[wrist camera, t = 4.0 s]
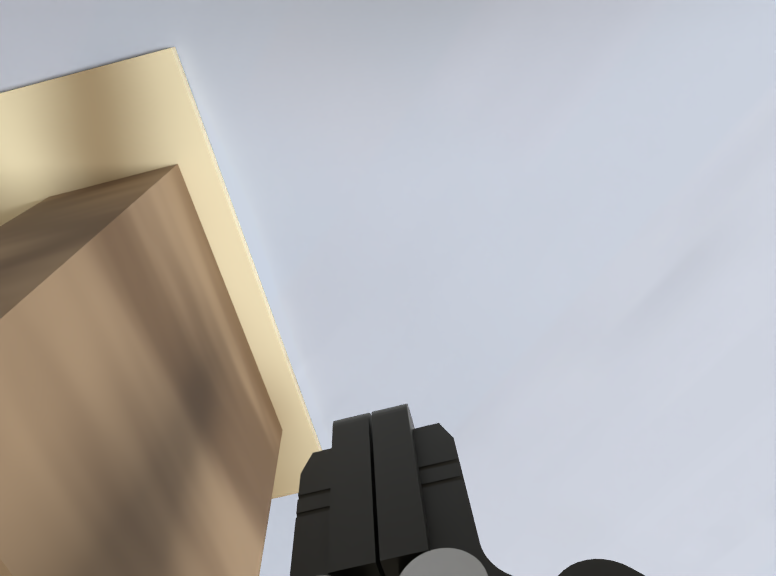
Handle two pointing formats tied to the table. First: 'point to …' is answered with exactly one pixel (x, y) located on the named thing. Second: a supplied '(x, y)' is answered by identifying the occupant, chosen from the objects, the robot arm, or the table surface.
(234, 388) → the slab
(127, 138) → the board
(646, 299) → the table surface
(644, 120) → the table surface
